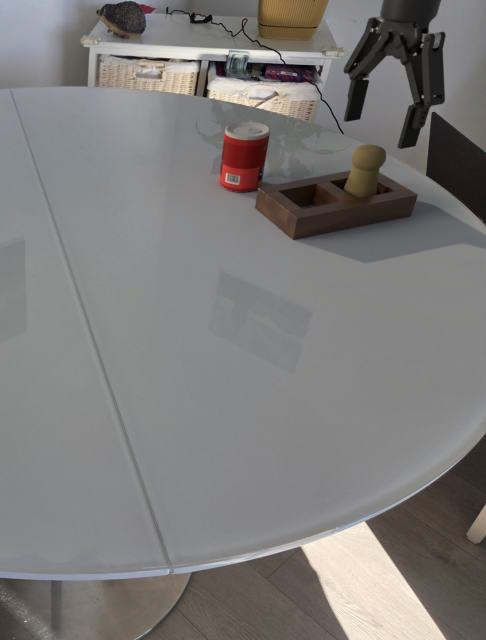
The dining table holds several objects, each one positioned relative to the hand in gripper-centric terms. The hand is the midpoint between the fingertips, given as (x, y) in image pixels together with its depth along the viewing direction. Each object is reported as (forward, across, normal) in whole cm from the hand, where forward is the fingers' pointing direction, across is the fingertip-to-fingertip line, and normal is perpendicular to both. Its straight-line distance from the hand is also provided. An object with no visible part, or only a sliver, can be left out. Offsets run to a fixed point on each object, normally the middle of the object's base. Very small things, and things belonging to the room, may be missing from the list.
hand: (377, 133), depth 105 cm
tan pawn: (+14, 0, 0) cm, 14 cm away
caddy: (+14, 0, -5) cm, 14 cm away
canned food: (+13, -16, -14) cm, 26 cm away
